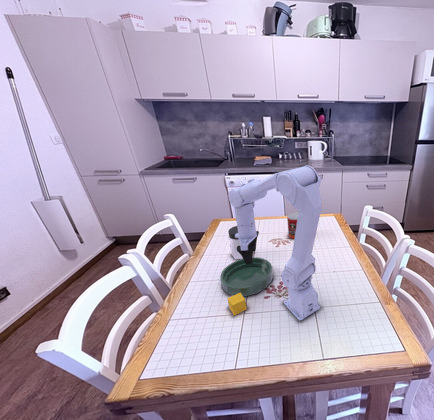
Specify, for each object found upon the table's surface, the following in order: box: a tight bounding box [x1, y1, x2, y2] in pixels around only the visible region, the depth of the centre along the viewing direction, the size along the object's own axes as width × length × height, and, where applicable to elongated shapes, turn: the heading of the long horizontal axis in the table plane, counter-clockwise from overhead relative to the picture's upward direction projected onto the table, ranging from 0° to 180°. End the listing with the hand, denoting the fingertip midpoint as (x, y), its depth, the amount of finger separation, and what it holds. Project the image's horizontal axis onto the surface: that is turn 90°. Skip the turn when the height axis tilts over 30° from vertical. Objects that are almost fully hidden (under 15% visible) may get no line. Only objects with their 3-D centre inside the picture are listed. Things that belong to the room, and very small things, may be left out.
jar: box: [227, 225, 243, 260], centre depth 99 cm, size 9×8×12 cm
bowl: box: [219, 256, 274, 297], centre depth 85 cm, size 18×18×4 cm
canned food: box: [286, 211, 299, 240], centre depth 115 cm, size 8×8×11 cm
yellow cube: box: [227, 293, 247, 316], centre depth 73 cm, size 4×4×4 cm
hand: (250, 257), depth 83 cm, fingers open, 7 cm apart
